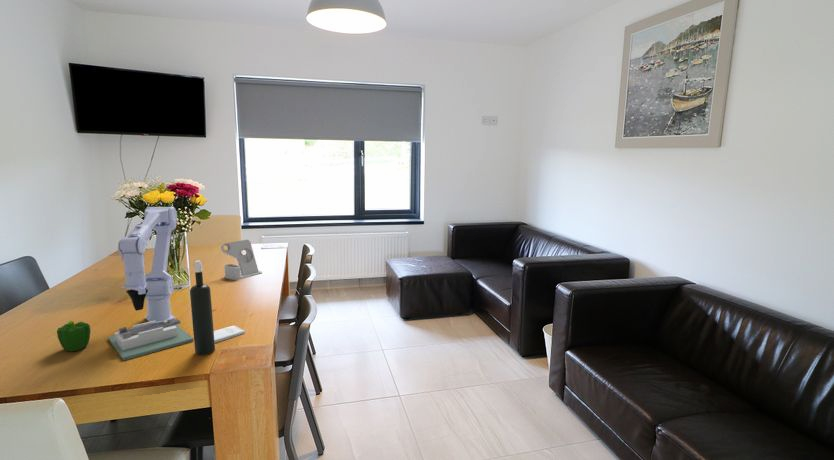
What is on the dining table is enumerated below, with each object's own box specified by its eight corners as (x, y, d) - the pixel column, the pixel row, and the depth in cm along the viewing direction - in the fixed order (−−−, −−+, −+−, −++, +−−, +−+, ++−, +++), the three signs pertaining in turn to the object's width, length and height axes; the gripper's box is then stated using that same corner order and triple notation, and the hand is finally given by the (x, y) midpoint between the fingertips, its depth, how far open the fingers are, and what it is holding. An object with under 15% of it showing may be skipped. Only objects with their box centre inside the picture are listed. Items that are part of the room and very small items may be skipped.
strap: (124, 336, 138) (124, 334, 137) (122, 333, 140) (121, 330, 140) (180, 323, 149) (180, 321, 149) (176, 320, 152) (176, 318, 152)
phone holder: (234, 280, 216) (231, 246, 213) (222, 277, 221) (220, 243, 218) (263, 273, 230) (261, 240, 227) (251, 270, 235) (249, 238, 232)
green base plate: (108, 339, 145) (106, 323, 144) (172, 323, 159) (171, 309, 159) (123, 360, 130) (121, 343, 129) (193, 341, 144) (191, 325, 143)
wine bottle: (191, 352, 136) (183, 261, 131) (208, 346, 141) (201, 258, 136) (201, 357, 133) (193, 264, 128) (218, 350, 138) (211, 260, 133)
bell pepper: (71, 343, 142) (67, 314, 141) (97, 342, 143) (93, 314, 141) (52, 354, 134) (47, 324, 132) (79, 354, 134) (75, 324, 133)
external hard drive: (199, 339, 147) (233, 328, 156) (209, 346, 142) (245, 334, 151) (198, 335, 147) (233, 324, 156) (209, 341, 141) (244, 330, 151)
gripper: (116, 269, 147) (120, 307, 150) (126, 278, 137) (130, 318, 140) (139, 266, 152) (143, 302, 155) (151, 274, 142) (155, 312, 145)
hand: (139, 309), depth 147 cm, fingers closed
